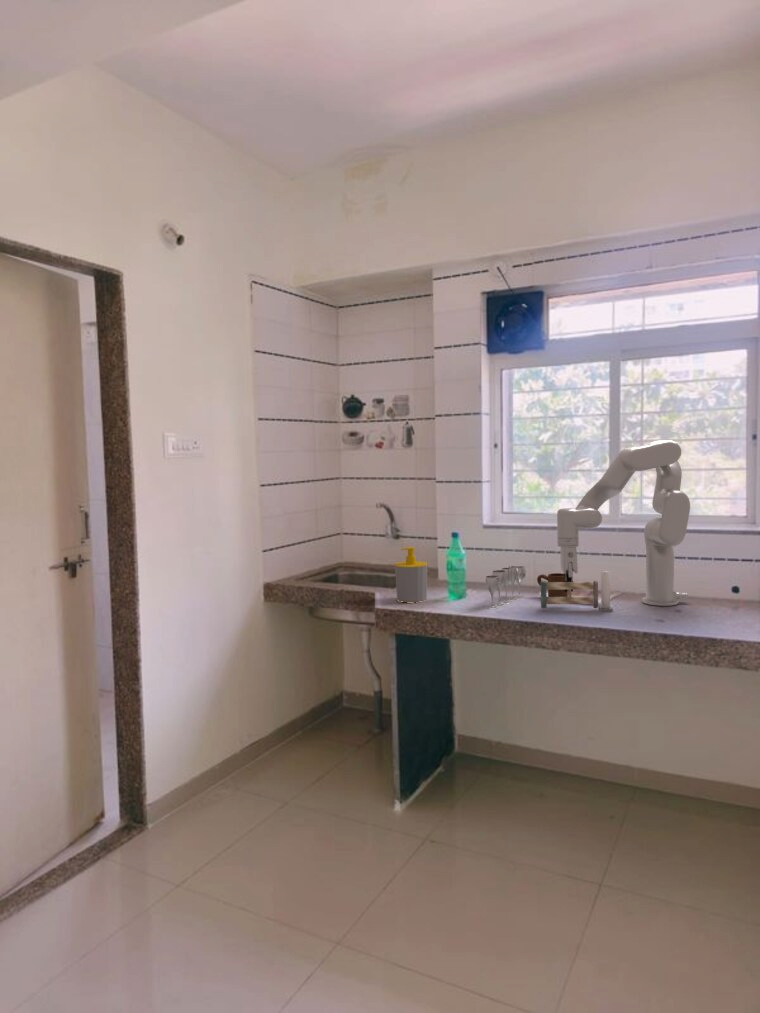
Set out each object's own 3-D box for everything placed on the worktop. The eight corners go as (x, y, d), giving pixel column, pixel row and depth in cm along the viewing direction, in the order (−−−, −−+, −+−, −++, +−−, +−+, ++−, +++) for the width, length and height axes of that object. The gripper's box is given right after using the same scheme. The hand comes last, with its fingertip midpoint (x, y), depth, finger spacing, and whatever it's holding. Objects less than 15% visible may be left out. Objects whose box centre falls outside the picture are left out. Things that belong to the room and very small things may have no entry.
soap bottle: (395, 597, 279) (394, 545, 277) (427, 596, 278) (426, 544, 277) (395, 604, 266) (393, 550, 264) (428, 603, 265) (427, 549, 264)
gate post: (610, 608, 248) (609, 570, 247) (613, 611, 243) (612, 572, 242) (598, 608, 248) (598, 570, 247) (601, 611, 243) (601, 572, 242)
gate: (597, 606, 247) (597, 580, 246) (598, 608, 245) (598, 581, 244) (540, 607, 249) (540, 581, 248) (541, 608, 247) (541, 582, 247)
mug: (534, 598, 268) (534, 575, 267) (540, 595, 275) (539, 571, 274) (565, 601, 262) (565, 577, 261) (570, 597, 269) (570, 573, 268)
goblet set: (496, 610, 251) (495, 574, 250) (482, 608, 254) (481, 573, 253) (529, 596, 273) (528, 563, 272) (515, 595, 276) (515, 562, 275)
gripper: (581, 544, 244) (582, 595, 246) (575, 539, 259) (575, 587, 260) (560, 544, 245) (560, 595, 247) (554, 539, 260) (555, 587, 261)
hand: (568, 591), depth 253 cm, fingers closed
